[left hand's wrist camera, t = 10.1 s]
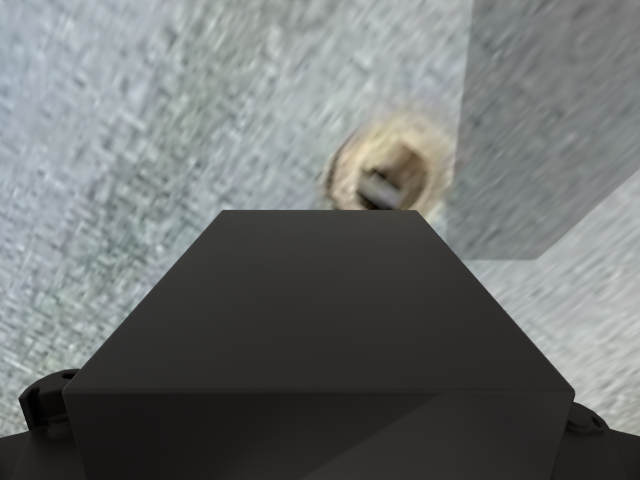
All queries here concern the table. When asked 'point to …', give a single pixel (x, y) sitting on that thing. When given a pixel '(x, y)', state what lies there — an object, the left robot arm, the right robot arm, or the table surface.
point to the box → (318, 362)
